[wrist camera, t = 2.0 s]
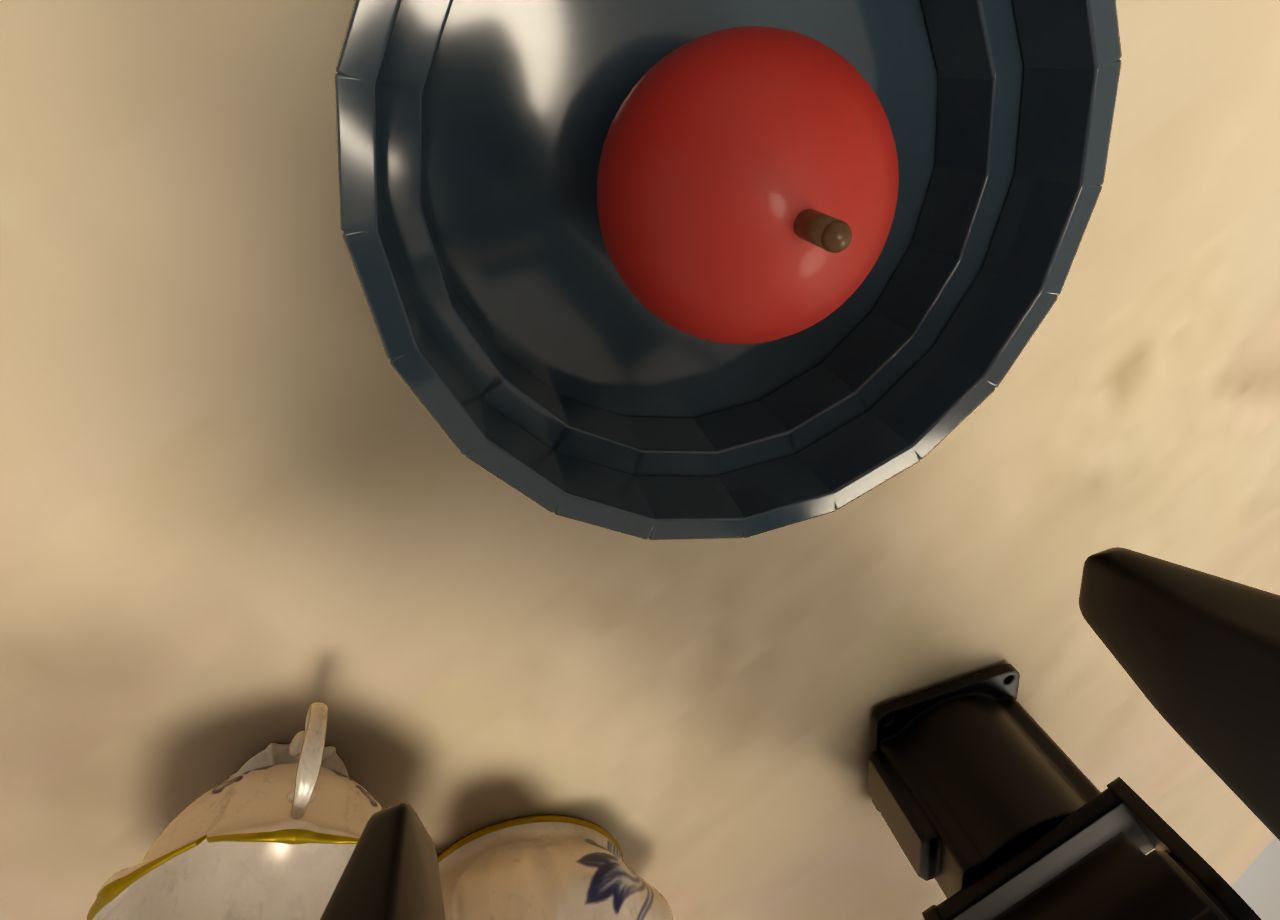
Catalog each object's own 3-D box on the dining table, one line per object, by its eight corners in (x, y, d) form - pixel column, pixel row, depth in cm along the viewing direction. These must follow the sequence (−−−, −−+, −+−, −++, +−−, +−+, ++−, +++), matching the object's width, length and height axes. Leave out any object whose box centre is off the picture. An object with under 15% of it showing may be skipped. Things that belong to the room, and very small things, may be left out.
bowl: (983, -285, 15) (1194, -415, 11) (948, 372, 23) (1066, 443, 19) (238, -175, 13) (150, -283, 9) (471, 504, 21) (482, 617, 17)
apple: (807, 7, 17) (1034, -22, 10) (818, 269, 20) (999, 366, 13) (546, 59, 16) (624, 61, 10) (600, 324, 19) (685, 454, 13)
